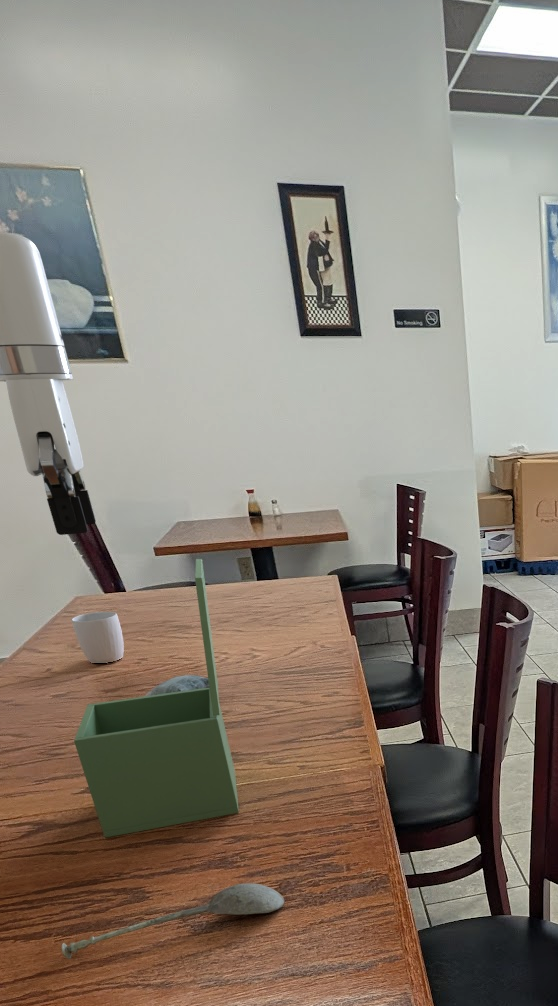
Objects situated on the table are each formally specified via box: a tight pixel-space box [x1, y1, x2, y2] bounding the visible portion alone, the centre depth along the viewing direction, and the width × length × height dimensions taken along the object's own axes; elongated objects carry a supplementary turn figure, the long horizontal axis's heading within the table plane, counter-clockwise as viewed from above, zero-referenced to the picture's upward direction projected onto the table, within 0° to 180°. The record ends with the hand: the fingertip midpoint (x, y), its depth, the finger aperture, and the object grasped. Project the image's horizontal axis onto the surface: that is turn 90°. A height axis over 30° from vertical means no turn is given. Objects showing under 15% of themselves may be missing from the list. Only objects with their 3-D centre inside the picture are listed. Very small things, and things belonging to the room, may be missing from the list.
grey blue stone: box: [144, 674, 209, 696], centre depth 155 cm, size 9×12×5 cm
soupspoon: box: [61, 882, 285, 960], centre depth 88 cm, size 22×3×7 cm
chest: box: [73, 688, 240, 839], centre depth 114 cm, size 17×15×14 cm
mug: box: [71, 611, 125, 664], centre depth 184 cm, size 13×9×10 cm
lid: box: [194, 558, 220, 716], centre depth 110 cm, size 18×15×1 cm
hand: (77, 528), depth 99 cm, fingers open, 7 cm apart
